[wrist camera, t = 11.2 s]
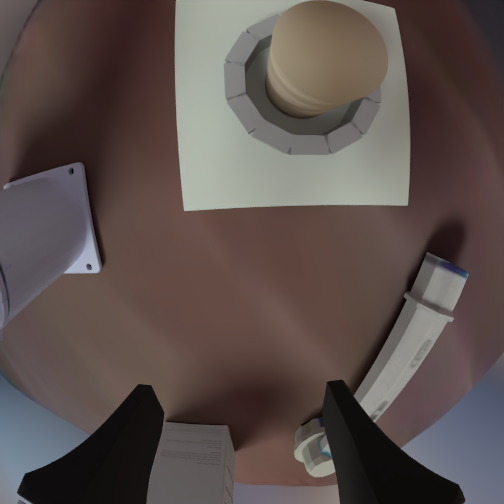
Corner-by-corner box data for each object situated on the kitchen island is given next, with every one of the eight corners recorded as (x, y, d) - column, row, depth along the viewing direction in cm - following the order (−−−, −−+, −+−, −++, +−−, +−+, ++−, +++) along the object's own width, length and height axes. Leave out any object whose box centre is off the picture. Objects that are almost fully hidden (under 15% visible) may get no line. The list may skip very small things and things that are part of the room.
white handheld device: (484, 280, 15) (334, 488, 20) (435, 256, 21) (322, 446, 26) (444, 259, 14) (290, 489, 19) (394, 238, 20) (283, 444, 26)
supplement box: (179, 448, 28) (164, 530, 16) (163, 419, 25) (139, 517, 13) (236, 452, 28) (232, 539, 16) (230, 424, 25) (223, 530, 13)
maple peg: (266, 119, 14) (275, 98, 8) (262, 54, 13) (267, -3, 6) (336, 120, 14) (393, 106, 7) (332, 57, 12) (379, 10, 6)
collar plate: (187, 208, 17) (175, 219, 14) (179, 4, 12) (167, -15, 9) (401, 202, 16) (423, 213, 14) (389, 12, 11) (407, -3, 9)
